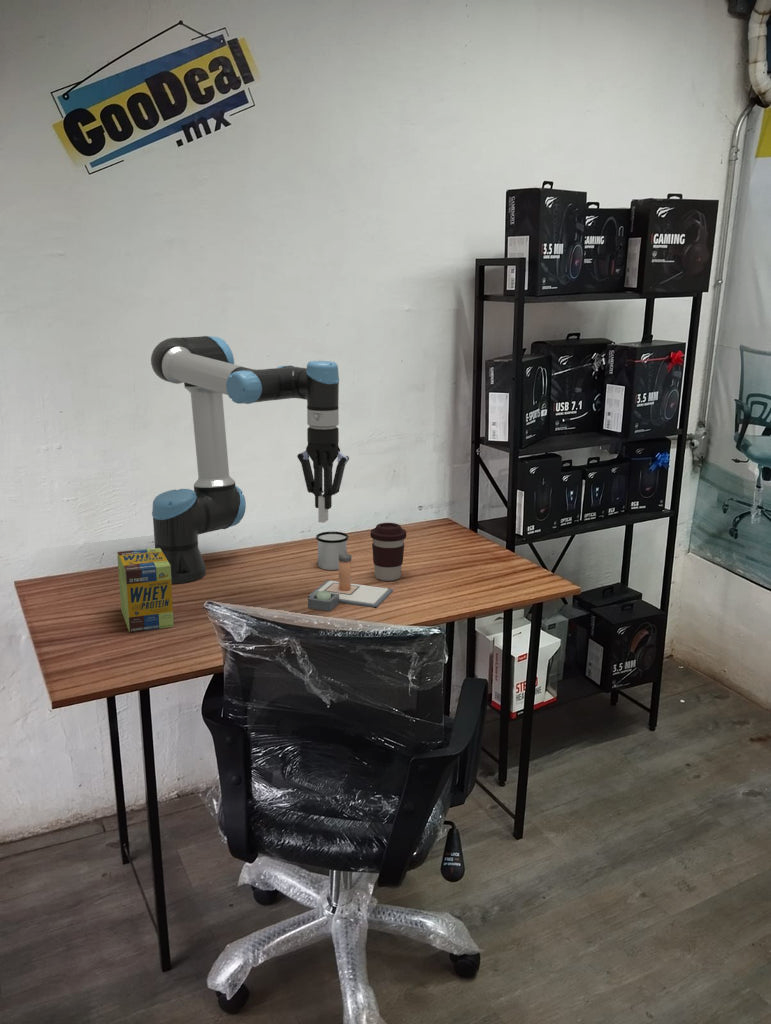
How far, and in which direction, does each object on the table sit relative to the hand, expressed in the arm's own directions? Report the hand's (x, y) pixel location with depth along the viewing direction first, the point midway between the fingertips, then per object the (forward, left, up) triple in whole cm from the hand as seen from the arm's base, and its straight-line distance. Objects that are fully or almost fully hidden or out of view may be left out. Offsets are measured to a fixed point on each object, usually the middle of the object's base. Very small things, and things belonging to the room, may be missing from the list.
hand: (323, 520), depth 209 cm
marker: (+1, +11, -21) cm, 24 cm away
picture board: (+3, +10, -22) cm, 25 cm away
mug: (-11, +31, -23) cm, 40 cm away
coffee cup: (+8, +26, -23) cm, 36 cm away
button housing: (0, 0, -22) cm, 22 cm away
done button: (0, 0, -22) cm, 22 cm away
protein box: (-37, -23, -23) cm, 49 cm away
